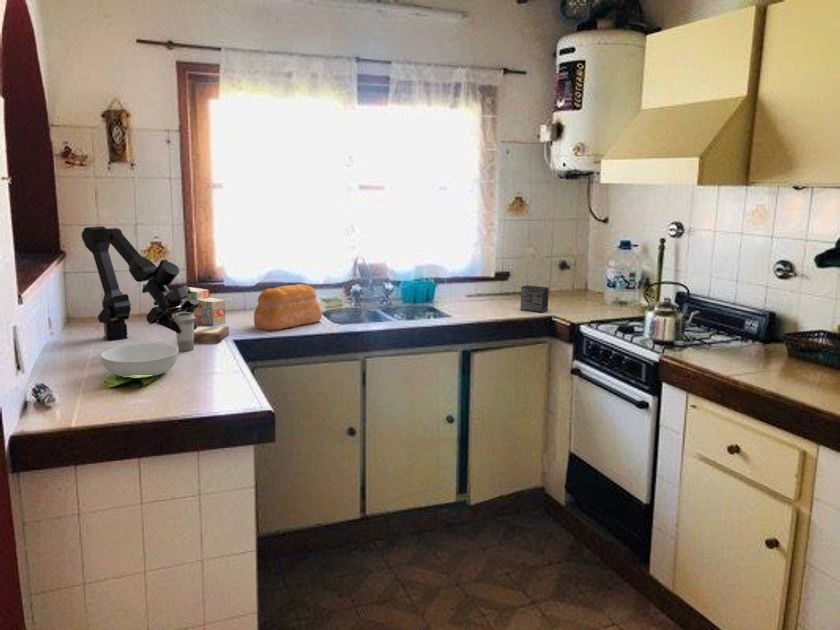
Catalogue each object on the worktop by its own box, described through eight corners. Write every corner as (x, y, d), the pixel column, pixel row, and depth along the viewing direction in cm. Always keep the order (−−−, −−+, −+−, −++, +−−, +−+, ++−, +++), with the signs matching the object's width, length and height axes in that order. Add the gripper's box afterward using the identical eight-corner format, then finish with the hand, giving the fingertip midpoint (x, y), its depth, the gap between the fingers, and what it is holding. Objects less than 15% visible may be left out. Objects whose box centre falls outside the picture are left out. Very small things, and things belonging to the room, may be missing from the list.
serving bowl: (97, 387, 189) (95, 363, 188) (107, 367, 209) (106, 344, 208) (178, 382, 195) (176, 358, 194) (181, 362, 215) (180, 341, 213)
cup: (175, 347, 232) (172, 312, 230) (196, 346, 234) (194, 311, 232) (175, 353, 226) (173, 316, 223) (197, 351, 228) (195, 315, 225)
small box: (548, 310, 302) (549, 286, 300) (542, 313, 297) (543, 288, 295) (525, 308, 308) (526, 284, 306) (519, 310, 302) (520, 286, 300)
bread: (325, 322, 275) (325, 284, 272) (271, 333, 256) (270, 292, 253) (303, 317, 284) (302, 280, 281) (249, 327, 264) (248, 287, 261)
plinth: (185, 342, 239) (184, 333, 239) (195, 334, 251) (195, 325, 251) (220, 342, 240) (219, 333, 239) (229, 334, 251) (228, 326, 251)
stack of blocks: (226, 323, 271) (224, 292, 268) (213, 326, 266) (211, 294, 263) (191, 316, 283) (189, 286, 280) (178, 318, 278) (176, 288, 275)
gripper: (150, 282, 219) (178, 320, 216) (194, 275, 235) (220, 310, 233) (134, 304, 224) (161, 342, 221) (178, 296, 240) (204, 330, 238)
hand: (188, 330), depth 228 cm, fingers closed on cup, 6 cm apart
